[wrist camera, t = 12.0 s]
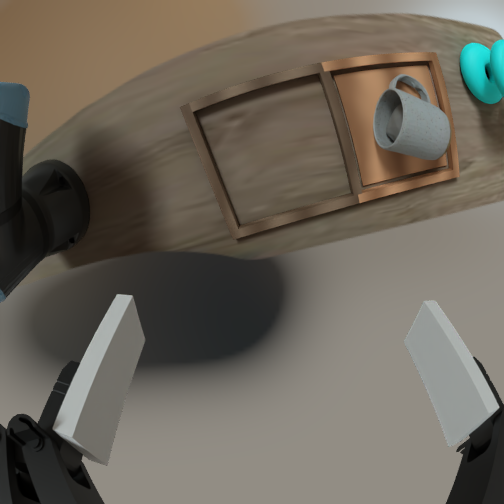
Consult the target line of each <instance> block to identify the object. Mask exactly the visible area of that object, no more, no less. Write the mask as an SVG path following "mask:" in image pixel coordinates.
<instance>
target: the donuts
mask: <svg viewBox="0 0 504 504" xmlns="http://www.w3.org/2000/svg"><path fill="white" fill-rule="evenodd" d="M460 67H461V72H462V75H463V78H464V81H465V83H466V85H467V86H468V88H469V90H470V91H471V92H472V94H473V95H474V96H475V97H476V98H478V99H479V100H480V101H482V102H484V103H487V104H494V103H497V102H498V101H500V100H501V98H502V97H504V40H498V41H496V42H495V43H494V44H493V46H492V48H491V51H490V50H489V49H488V48H487V47H485V46H483V45H481V44H478V43H470V44H467V45H466V46H465V47H464V48H463V50H462V52H461V55H460ZM485 67H486V69H487V71H488V74H489V80H488V78H487V76H486V73H485Z"/></svg>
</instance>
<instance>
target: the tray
mask: <svg viewBox="0 0 504 504" xmlns="http://www.w3.org/2000/svg"><path fill="white" fill-rule="evenodd" d="M419 61H428V64H429V67H430V70H431V74H432V77H433V81H434V85H435V89H436V93H437V97H438V101H439V106H440V110H442V111H443V112H444V113H445V114H446V115H447V117H448V119H449V121H450V124H451V129H452V136H451V142H450V146H449V148H448V150H447V155H448V164H449V168H448V169H444V170H439V171H435V172H431V173H427V174H423V175H419V176H415V177H411V178H407V179H403V180H399V181H395V182H391V183H387V184H383V185H379V186H376V187H372V188H368V189H364V190H361V185H360V180H359V175H358V170H357V166H356V161H355V157H354V153H353V149H352V145H351V141H350V137H349V133H348V129H347V126H346V122H345V118H344V115H343V112H342V108H341V105H340V102H339V98H338V95H337V92H336V89H335V86H334V83H333V80H332V77H331V74H330V71H336V70H341V69H347V68H354V67H361V66H369V65H377V64H387V63H400V62H419ZM315 74H318V76H319V79H320V82H321V85H322V87H323V90H324V93H325V96H326V100H327V103H328V106H329V109H330V112H331V116H332V119H333V122H334V126H335V129H336V133H337V137H338V140H339V144H340V148H341V152H342V156H343V160H344V164H345V168H346V172H347V176H348V181H349V185H350V190H351V193H350V194H346V195H342V196H339V197H335V198H331V199H328V200H324V201H321V202H317V203H314V204H310V205H307V206H303V207H300V208H296V209H293V210H289V211H286V212H283V213H279V214H276V215H272V216H269V217H266V218H262V219H259V220H256V221H253V222H249V223H246V224H243V225H240V226H239V224H238V221H237V219H236V216H235V214H234V211H233V209H232V206H231V203H230V201H229V198H228V196H227V193H226V191H225V188H224V186H223V183H222V180H221V178H220V175H219V173H218V170H217V168H216V165H215V163H214V160H213V157H212V155H211V152H210V150H209V147H208V145H207V142H206V139H205V137H204V134H203V132H202V129H201V127H200V124H199V122H198V119H197V116H196V114H195V112H196V111H198V110H201V109H203V108H206V107H208V106H211V105H214V104H216V103H219V102H222V101H224V100H227V99H230V98H233V97H236V96H239V95H242V94H245V93H248V92H251V91H254V90H257V89H261V88H264V87H267V86H271V85H274V84H278V83H282V82H286V81H289V80H293V79H297V78H302V77H306V76H310V75H315ZM400 74H406V75H409V76H411V77H413V78H415V79H416V80H417V81H419V82H420V83H421V84H422V85H423V86H424V88H425V89H426V91H427V93H428V95H429V98H430V102H431V104H432V105H434V106H436V107H438V106H437V101H436V97H435V93H434V89H433V85H432V81H431V77H430V74H429V70H428V67H427V65H426V66H405V67H393V68H382V69H374V70H366V71H359V72H352V73H346V74H340V75H335V76H333V77H334V80H335V83H336V86H337V89H338V92H339V95H340V98H341V102H342V105H343V108H344V112H345V115H346V119H347V122H348V126H349V129H350V133H351V137H352V141H353V145H354V149H355V153H356V158H357V162H358V166H359V171H360V176H361V181H362V185H363V186H365V185H368V184H372V183H376V182H380V181H384V180H388V179H392V178H396V177H400V176H404V175H408V174H412V173H416V172H420V171H424V170H428V169H433V168H437V167H441V166H446V165H447V163H446V154H444V155H443V156H442V157H441V158H439V159H436V160H425V159H420V158H417V157H414V156H410V155H405V154H401V153H398V152H393V151H389V150H385V149H382V148H381V147H380V146H379V145H378V144H377V142H376V140H375V137H374V131H373V119H374V113H375V108H376V105H377V102H378V100H379V98H380V96H381V95H382V93H383V92H384V91H385V90H387V89H389V85H390V82H391V81H392V80H393V79H394V78H395V77H396V76H398V75H400ZM396 89H399V90H401V91H404V92H406V93H408V94H411V95H413V96H415V97H417V98H419V99H421V97H420V95H419V93H418V92H417V90H416V89H415V88H413V87H412V86H410V85H408V84H406V83H404V82H401V81H397V83H396ZM421 100H422V99H421ZM180 109H181V111H182V114H183V116H184V119H185V121H186V124H187V126H188V129H189V132H190V134H191V137H192V139H193V142H194V144H195V147H196V149H197V152H198V154H199V157H200V159H201V162H202V164H203V167H204V169H205V172H206V174H207V177H208V179H209V182H210V184H211V187H212V189H213V192H214V194H215V197H216V199H217V201H218V204H219V206H220V209H221V211H222V214H223V216H224V219H225V221H226V224H227V226H228V228H229V231H230V233H231V236H232V238H233V240H234V239H237V238H241V237H244V236H247V235H251V234H254V233H257V232H261V231H264V230H267V229H271V228H274V227H278V226H281V225H284V224H288V223H291V222H295V221H298V220H302V219H305V218H309V217H312V216H316V215H319V214H323V213H326V212H330V211H333V210H337V209H340V208H344V207H348V206H351V205H355V204H358V203H362V202H366V201H369V200H373V199H376V198H380V197H384V196H388V195H391V194H395V193H399V192H402V191H406V190H410V189H414V188H417V187H421V186H425V185H429V184H433V183H437V182H440V181H444V180H448V179H452V178H456V177H459V164H458V154H457V145H456V137H455V130H454V124H453V118H452V113H451V108H450V103H449V98H448V94H447V90H446V86H445V82H444V78H443V74H442V71H441V67H440V64H439V60H438V57H437V54H436V53H433V52H419V53H393V54H380V55H370V56H361V57H353V58H346V59H340V60H334V61H328V62H322V63H317V64H312V65H308V66H303V67H299V68H294V69H290V70H286V71H282V72H278V73H275V74H271V75H268V76H264V77H261V78H257V79H254V80H251V81H248V82H244V83H241V84H238V85H235V86H233V87H230V88H227V89H224V90H221V91H219V92H216V93H213V94H211V95H208V96H205V97H203V98H200V99H198V100H195V101H193V102H191V103H188V104H186V105H184V106H181V107H180Z"/></svg>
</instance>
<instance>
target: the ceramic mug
mask: <svg viewBox="0 0 504 504" xmlns="http://www.w3.org/2000/svg"><path fill="white" fill-rule="evenodd" d="M397 81H401V82H404V83H406V84H408V85H410V86H412V87H413V88H415V89H416V90H417V92H418V93H419V95H420V97H421V99H422V100H421V99H419V98H417V97H415V96H413V95H411V94H408V93H406V92H404V91H401V90H399V89H396V83H397ZM373 131H374V137H375V140H376V142H377V144H378V145H379V146H380V147H381V148H382V149H385V150H389V151H393V152H398V153H401V154H405V155H410V156H414V157H417V158H420V159H425V160H436V159H439V158H441V157H442V156H443V155H444V154H445V153H446V151H447V150H448V148H449V146H450V142H451V136H452V129H451V124H450V121H449V119H448V117H447V115H446V114H445V113H444V112H443V111H442V110H440V109H439V108H438V107H436V106H434V105H432V104H431V102H430V98H429V95H428V93H427V91H426V89H425V88H424V86H423V85H422V84H421V83H420V82H419V81H417V80H416V79H415V78H413V77H411V76H409V75H406V74H400V75H398V76H396V77H395V78H394V79H393V80H392V81H391V82H390V85H389V89H387V90H385V91H384V92H383V93H382V95H381V96H380V98H379V100H378V102H377V105H376V108H375V113H374V119H373Z"/></svg>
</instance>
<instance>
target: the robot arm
mask: <svg viewBox="0 0 504 504" xmlns="http://www.w3.org/2000/svg"><path fill="white" fill-rule="evenodd" d="M29 98H30V95H29V91H28V89H27V88H26V87H25V86H24V85H22V84H17V83H6V82H0V302H1V301H4V300H5V299H6V297H7V296H8V295H9V294H10V292H12V290H13V289H14V288H15V287H16V286H17V285H18V284H19V283H20V282H21V281H22V280H23V279H24V278H25V277H26V276H27V275H28V274H29V272H30V271H31V270H32V269H33V268H34V267H35V266H36V265H37V264H38V263H39V262H40V261H42V260H43V259H44V258H45V257H48V256H51V255H54V254H57V253H60V252H63V251H66V250H68V249H70V248H72V247H73V246H74V245H75V244H76V243H77V242H79V241H80V240H81V239H82V237H83V236H84V234H85V233H86V230H87V228H88V224H89V216H90V210H89V202H88V197H87V194H86V191H85V188H84V186H83V184H82V182H81V180H80V178H79V177H78V175H77V174H76V173H75V172H74V170H73V169H72V168H70V167H69V166H68V165H67V164H65V163H63V162H61V161H58V160H46V161H43V162H41V163H38V164H36V165H34V166H33V167H31V168H30V169H29V170H28V171H27V172H26V173H25V174H24V175H23V176H22V167H23V151H24V142H25V134H26V128H27V127H28V123H27V115H28V106H29ZM144 343H145V337H144V334H143V331H142V328H141V324H140V321H139V317H138V313H137V309H136V306H135V302H134V298H133V296H132V295H121V294H117V295H116V297H115V299H114V301H113V302H112V304H111V306H110V308H109V309H108V311H107V313H106V315H105V317H104V318H103V320H102V322H101V324H100V326H99V328H98V330H97V331H96V333H95V335H94V337H93V339H92V341H91V343H90V345H89V347H88V349H87V351H86V353H85V355H84V357H83V359H82V361H81V363H78V362H74V361H70V362H69V363H68V364H67V365H66V366H65V367H64V368H63V369H62V371H61V373H60V375H59V377H58V379H57V383H55V385H54V388H53V391H52V392H51V394H50V396H49V399H48V401H47V403H46V405H45V408H44V410H43V412H42V415H41V417H40V420H39V421H38V423H36V422H35V421H34V420H33V419H32V418H31V417H30V416H28V415H26V414H17V415H16V416H14V417H13V418H12V419H11V420H10V421H9V424H8V427H7V429H5V428H4V427H3V426H2V425H1V424H0V504H104V502H103V500H102V498H101V497H100V495H99V493H98V491H97V489H96V488H95V486H94V484H93V482H92V480H91V478H90V476H89V474H88V472H87V470H86V468H85V466H84V464H83V462H82V461H81V460H82V456H83V455H84V456H85V457H87V458H88V459H89V460H91V461H94V462H97V463H100V464H103V465H106V466H107V465H108V461H109V457H110V453H111V448H112V445H113V441H114V438H115V434H116V430H117V427H118V423H119V419H120V416H121V413H122V409H123V406H124V403H125V399H126V396H127V393H128V390H129V387H130V384H131V381H132V378H133V375H134V371H135V368H136V366H137V362H138V360H139V357H140V354H141V351H142V348H143V346H144ZM404 343H405V345H406V347H407V349H408V351H409V353H410V355H411V357H412V359H413V362H414V364H415V366H416V368H417V370H418V372H419V374H420V377H421V379H422V381H423V383H424V385H425V388H426V390H427V392H428V395H429V397H430V400H431V402H432V404H433V407H434V409H435V412H436V414H437V417H438V419H439V422H440V424H441V427H442V430H443V432H444V435H445V438H446V441H447V444H448V447H450V446H452V445H454V444H456V443H459V442H461V441H462V440H463V439H464V438H466V437H467V436H468V435H469V436H470V438H469V439H468V440H467V441H466V442H464V443H463V444H462V445H460V446H459V447H458V449H457V451H456V452H459V451H460V450H461V449H463V448H464V447H465V449H463V450H462V451H461V452H460V453H462V454H463V457H462V460H461V464H460V467H459V470H458V473H457V476H456V479H455V482H454V485H453V487H452V490H451V492H450V495H449V497H448V500H447V502H446V504H504V404H503V403H502V401H501V399H500V397H499V395H498V393H497V391H496V389H495V387H494V385H493V383H492V382H491V381H490V378H489V376H488V374H486V371H485V369H484V367H483V365H482V364H481V363H480V362H479V361H478V360H477V359H476V358H475V357H472V355H471V354H470V352H469V351H468V349H467V347H466V345H465V344H464V342H463V341H462V339H461V338H460V336H459V335H458V333H457V331H456V330H455V328H454V327H453V325H452V324H451V322H450V321H449V320H448V318H447V317H446V315H445V314H444V312H443V311H442V309H441V308H440V307H439V305H438V304H437V302H436V301H435V300H433V301H424V302H423V304H422V306H421V308H420V311H419V312H418V315H417V317H416V319H415V321H414V323H413V325H412V327H411V328H410V330H409V332H408V334H407V336H406V338H405V340H404Z"/></svg>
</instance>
